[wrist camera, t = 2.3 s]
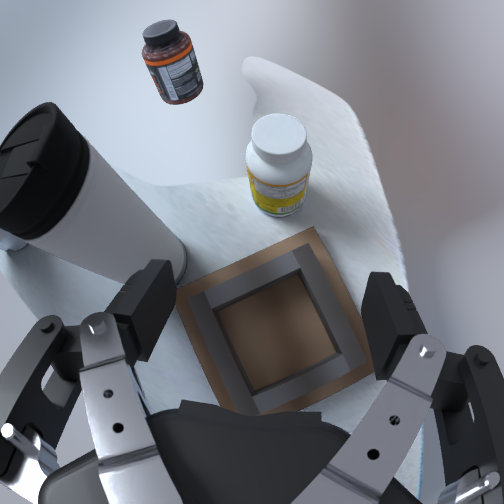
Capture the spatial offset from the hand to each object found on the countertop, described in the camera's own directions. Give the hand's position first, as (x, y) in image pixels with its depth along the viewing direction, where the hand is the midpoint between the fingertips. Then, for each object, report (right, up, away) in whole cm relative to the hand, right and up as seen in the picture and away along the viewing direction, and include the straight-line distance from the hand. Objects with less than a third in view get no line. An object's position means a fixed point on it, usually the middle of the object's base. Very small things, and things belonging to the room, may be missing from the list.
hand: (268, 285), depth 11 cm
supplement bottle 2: (+2, +7, +17) cm, 19 cm away
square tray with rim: (+1, -6, +13) cm, 15 cm away
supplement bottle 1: (-10, +23, +23) cm, 34 cm away
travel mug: (-10, 0, +16) cm, 19 cm away
